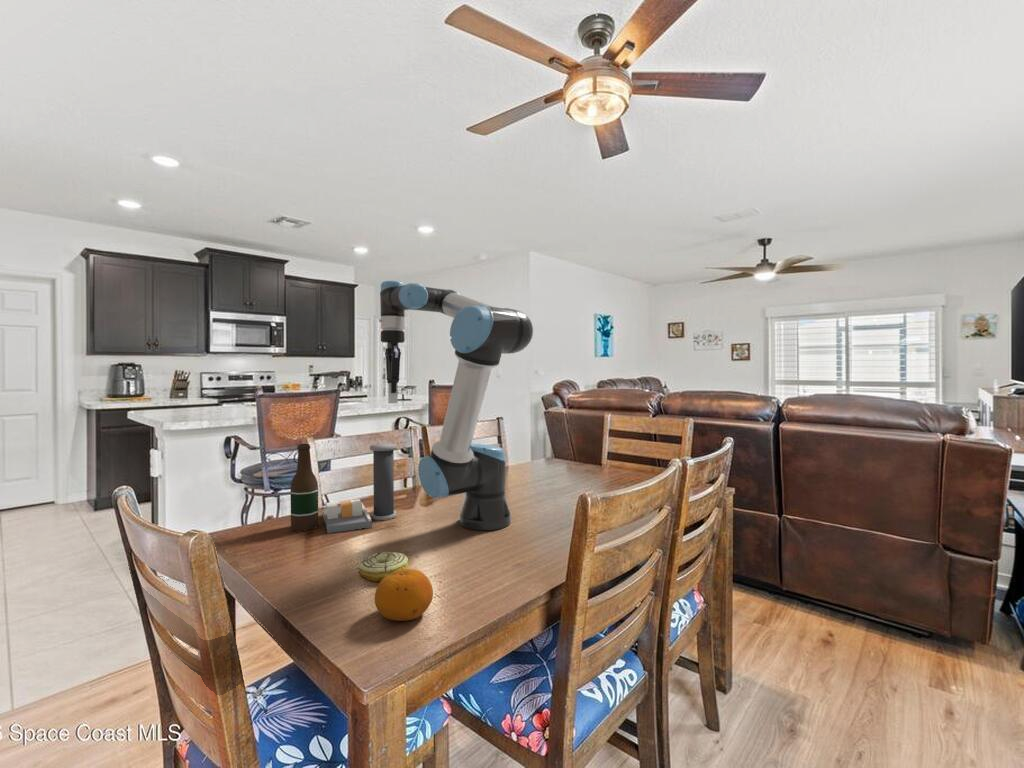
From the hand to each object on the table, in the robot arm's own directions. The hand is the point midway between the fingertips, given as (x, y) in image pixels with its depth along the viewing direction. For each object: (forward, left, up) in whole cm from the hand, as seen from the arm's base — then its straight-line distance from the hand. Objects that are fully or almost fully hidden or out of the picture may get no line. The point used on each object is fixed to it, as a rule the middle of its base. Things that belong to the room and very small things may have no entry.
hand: (392, 403), depth 157 cm
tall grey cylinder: (-8, +5, -34) cm, 36 cm away
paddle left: (-8, +20, -32) cm, 39 cm away
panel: (-8, +16, -34) cm, 39 cm away
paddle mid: (-8, +16, -32) cm, 37 cm away
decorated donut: (-49, +12, -35) cm, 61 cm away
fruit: (-69, +12, -35) cm, 78 cm away
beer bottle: (-9, +27, -35) cm, 45 cm away
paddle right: (-8, +13, -32) cm, 36 cm away
